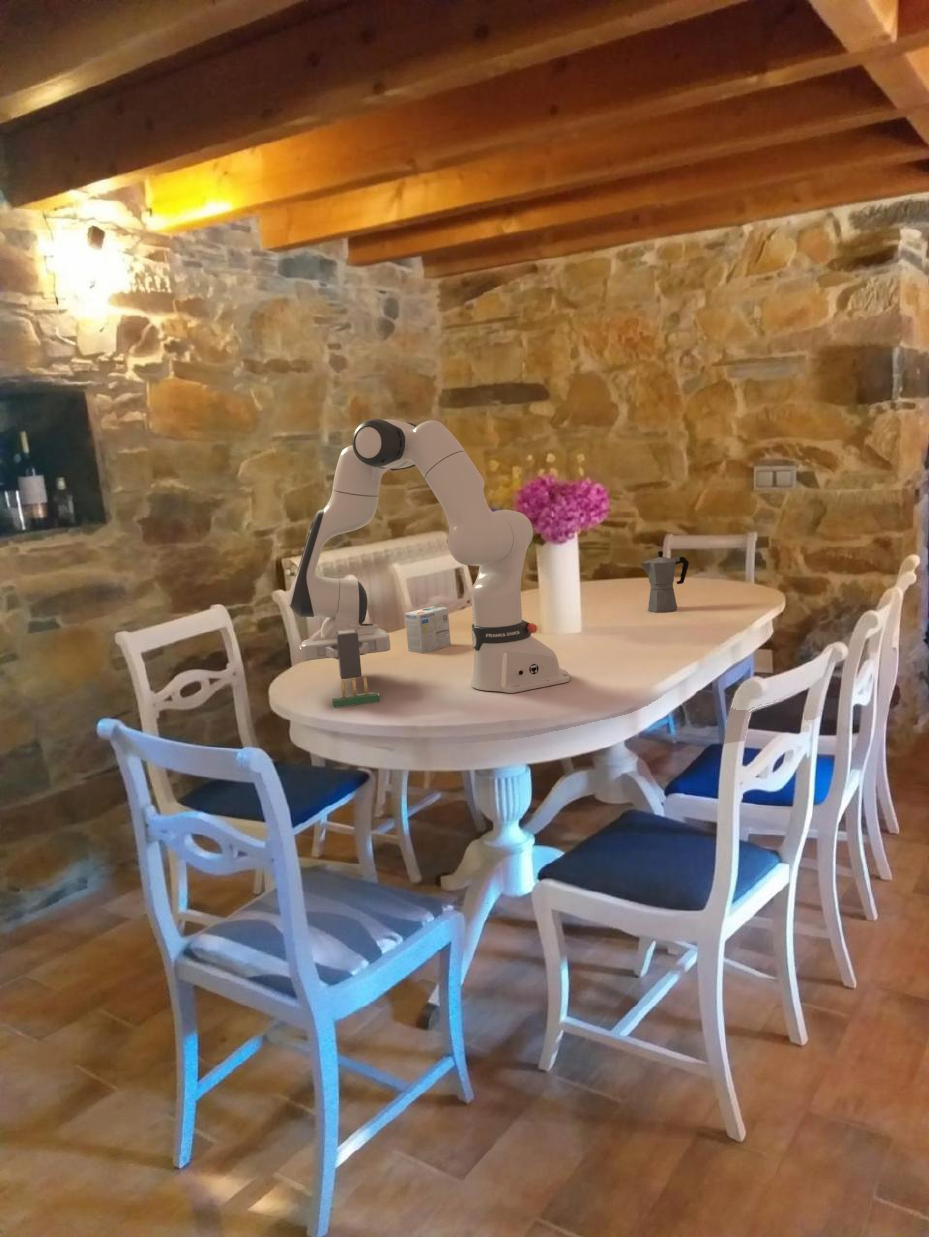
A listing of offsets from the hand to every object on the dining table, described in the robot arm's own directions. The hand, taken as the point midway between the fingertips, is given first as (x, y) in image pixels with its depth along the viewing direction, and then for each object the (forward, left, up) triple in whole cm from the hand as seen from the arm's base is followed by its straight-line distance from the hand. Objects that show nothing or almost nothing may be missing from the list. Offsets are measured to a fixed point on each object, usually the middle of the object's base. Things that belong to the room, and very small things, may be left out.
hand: (348, 652), depth 207 cm
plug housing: (0, -1, -5) cm, 6 cm away
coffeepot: (-102, -56, -11) cm, 117 cm away
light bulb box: (-26, -43, -11) cm, 51 cm away
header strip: (0, +3, -11) cm, 11 cm away
